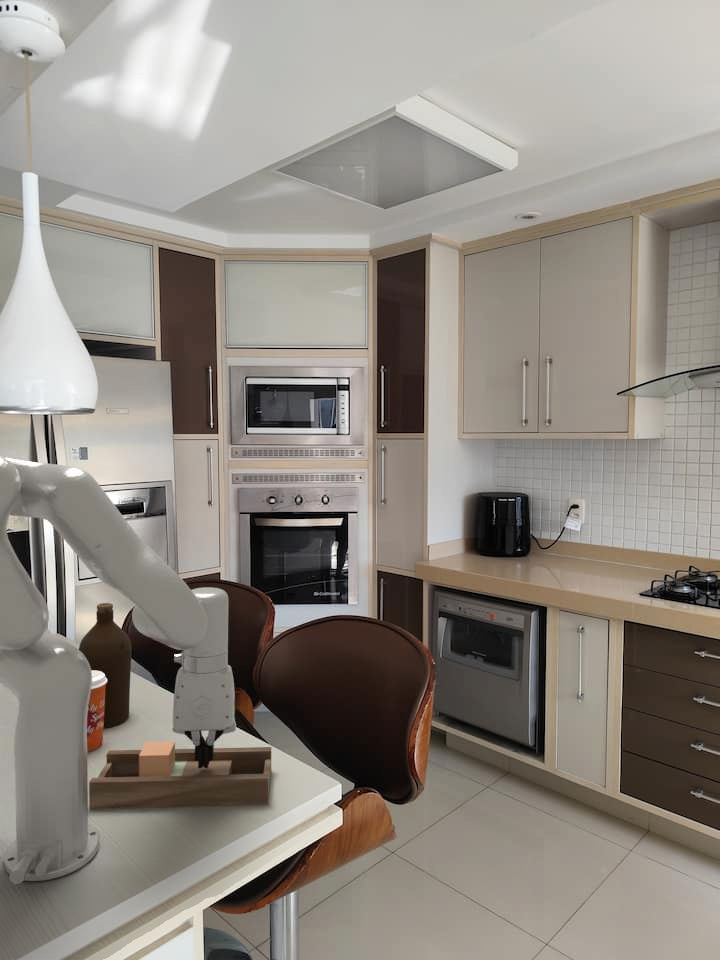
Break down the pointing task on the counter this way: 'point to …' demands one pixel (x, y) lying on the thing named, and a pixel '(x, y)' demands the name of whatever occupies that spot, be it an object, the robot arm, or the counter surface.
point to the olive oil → (110, 663)
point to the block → (157, 759)
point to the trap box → (184, 780)
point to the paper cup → (96, 711)
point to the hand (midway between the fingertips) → (204, 764)
